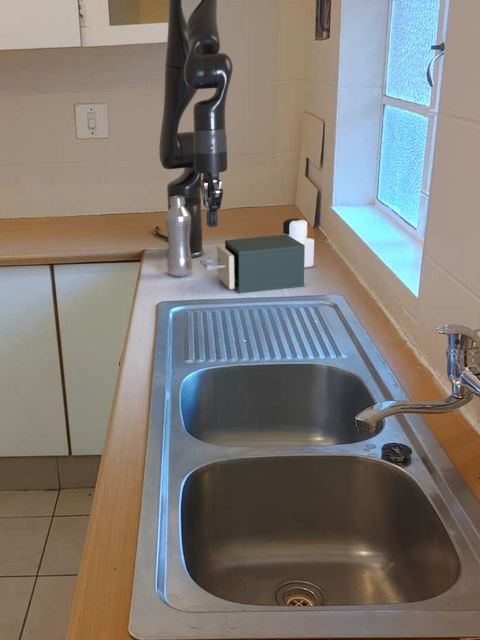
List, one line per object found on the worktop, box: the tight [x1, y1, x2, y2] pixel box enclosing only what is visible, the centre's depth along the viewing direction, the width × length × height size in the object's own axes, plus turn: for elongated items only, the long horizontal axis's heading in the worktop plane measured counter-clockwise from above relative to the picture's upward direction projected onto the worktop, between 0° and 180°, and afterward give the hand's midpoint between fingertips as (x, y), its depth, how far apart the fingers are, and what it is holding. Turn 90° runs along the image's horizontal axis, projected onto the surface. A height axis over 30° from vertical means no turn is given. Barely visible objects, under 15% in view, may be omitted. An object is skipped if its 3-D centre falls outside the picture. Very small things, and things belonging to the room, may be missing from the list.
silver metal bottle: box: [164, 196, 194, 277], centre depth 190 cm, size 6×7×20 cm
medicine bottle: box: [282, 218, 315, 269], centre depth 193 cm, size 7×7×12 cm
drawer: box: [199, 244, 238, 290], centre depth 181 cm, size 20×12×8 cm, turn 99°
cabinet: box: [224, 234, 305, 294], centre depth 181 cm, size 16×13×10 cm
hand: (212, 226), depth 176 cm, fingers closed
